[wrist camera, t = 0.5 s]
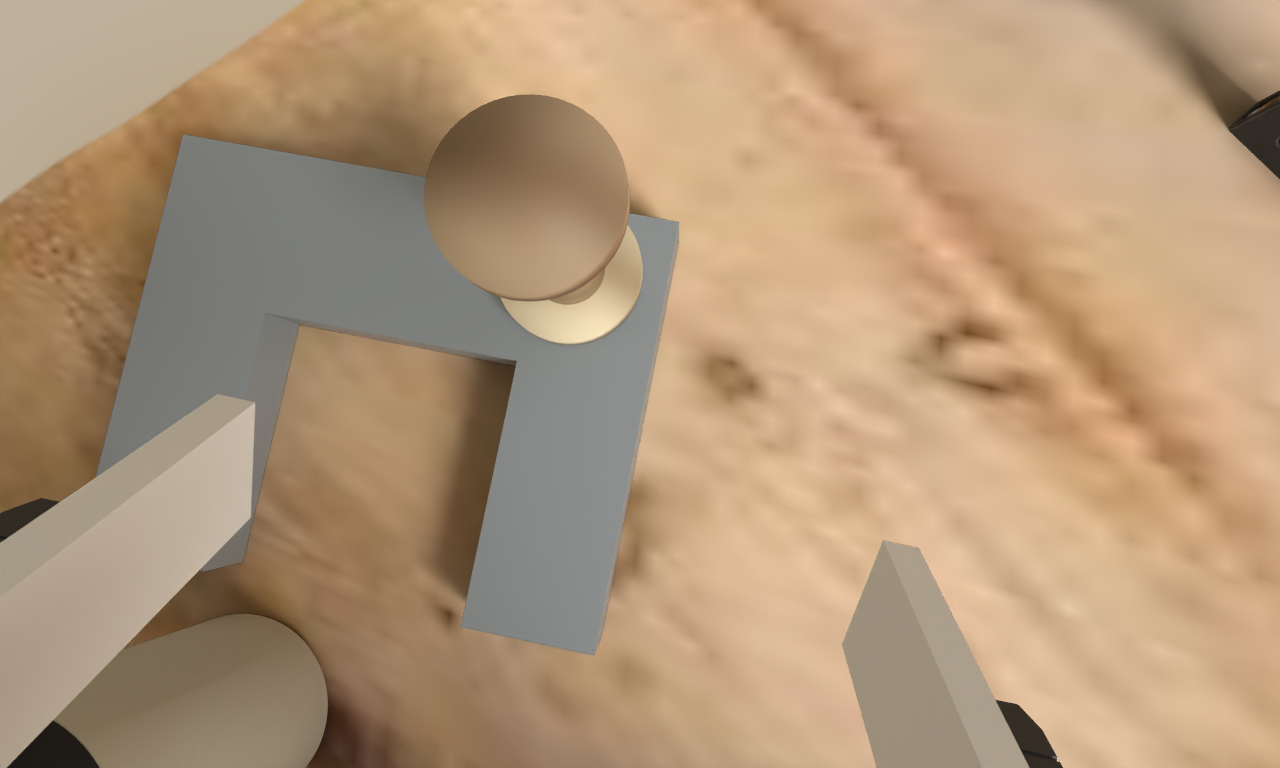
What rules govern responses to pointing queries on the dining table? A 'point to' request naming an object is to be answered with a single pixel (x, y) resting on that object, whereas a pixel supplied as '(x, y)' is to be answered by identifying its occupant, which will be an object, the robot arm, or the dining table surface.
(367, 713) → the dining table surface
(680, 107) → the dining table surface
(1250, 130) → the ammunition clip
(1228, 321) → the dining table surface
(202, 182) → the notched board
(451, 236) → the birch bobbin
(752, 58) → the dining table surface
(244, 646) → the travel mug
